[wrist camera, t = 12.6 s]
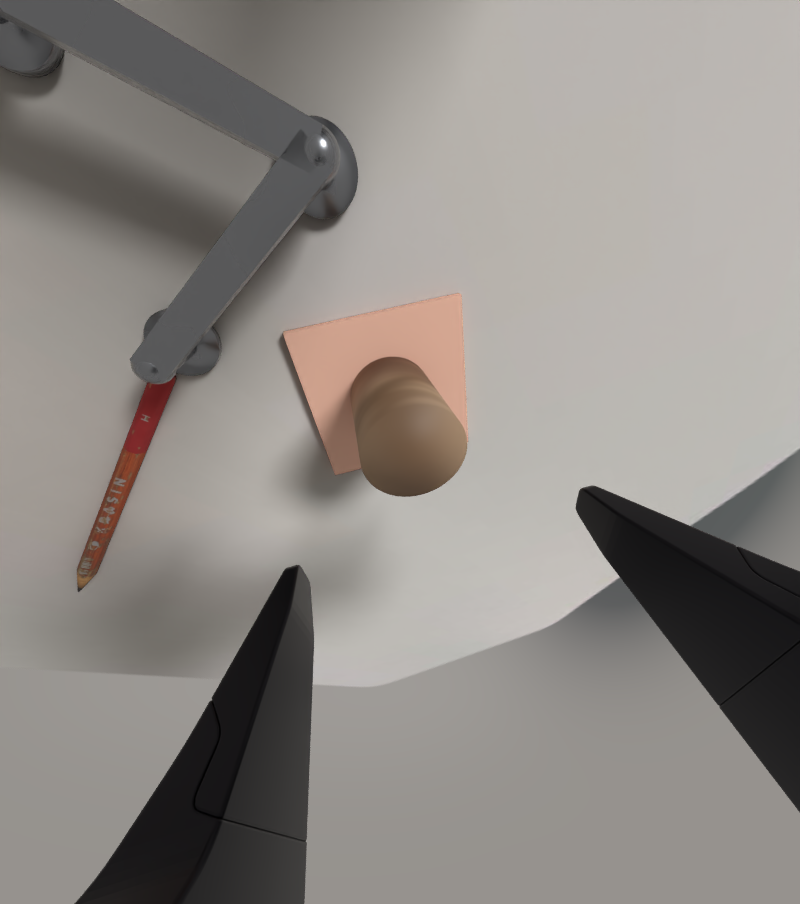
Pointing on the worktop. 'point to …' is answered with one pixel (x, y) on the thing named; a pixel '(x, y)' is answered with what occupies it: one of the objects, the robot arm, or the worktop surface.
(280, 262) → the worktop surface
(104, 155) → the worktop surface
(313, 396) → the terracotta mat
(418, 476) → the wooden dowel cylinder
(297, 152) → the dark grey bent piece
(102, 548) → the pencil
